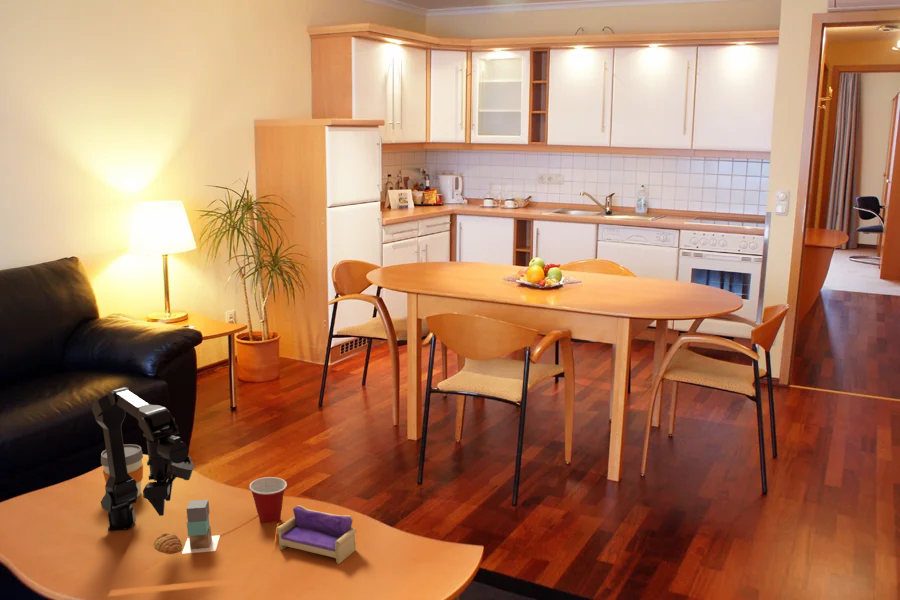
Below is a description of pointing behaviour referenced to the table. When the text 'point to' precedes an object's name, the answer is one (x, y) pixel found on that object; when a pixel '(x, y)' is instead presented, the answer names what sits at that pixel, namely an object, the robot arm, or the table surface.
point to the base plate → (212, 548)
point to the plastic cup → (268, 497)
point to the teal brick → (198, 527)
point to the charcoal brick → (198, 510)
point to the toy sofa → (318, 533)
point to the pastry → (168, 543)
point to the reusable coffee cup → (128, 464)
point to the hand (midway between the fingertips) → (164, 507)
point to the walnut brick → (201, 540)
